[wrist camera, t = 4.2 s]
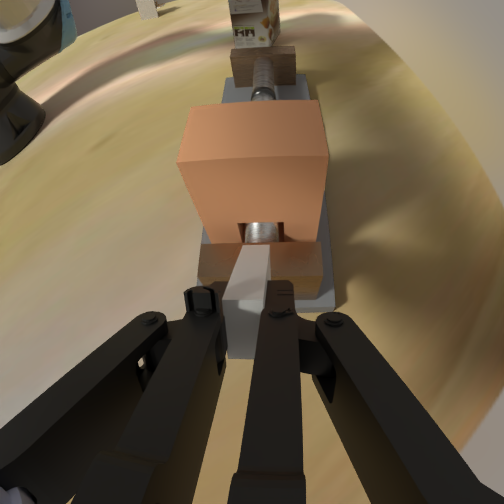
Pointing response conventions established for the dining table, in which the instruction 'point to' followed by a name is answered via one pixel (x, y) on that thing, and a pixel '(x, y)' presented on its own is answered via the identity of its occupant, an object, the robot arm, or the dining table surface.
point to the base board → (326, 290)
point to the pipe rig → (266, 233)
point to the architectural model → (148, 9)
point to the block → (256, 167)
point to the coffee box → (254, 22)
